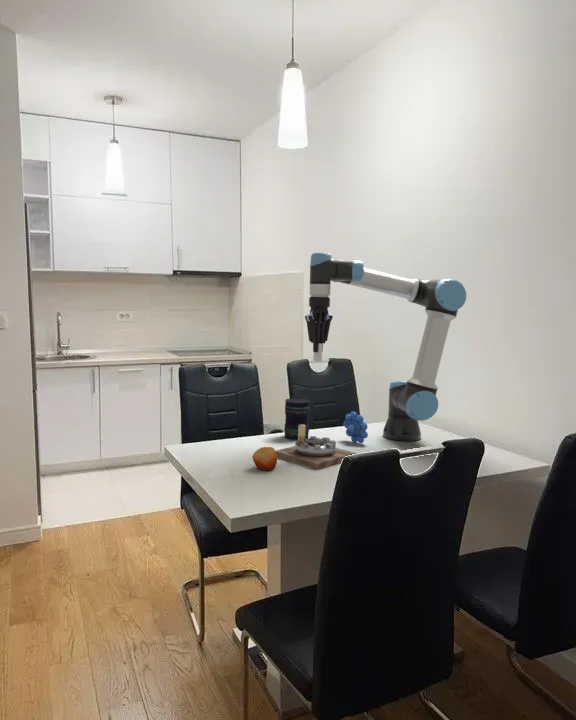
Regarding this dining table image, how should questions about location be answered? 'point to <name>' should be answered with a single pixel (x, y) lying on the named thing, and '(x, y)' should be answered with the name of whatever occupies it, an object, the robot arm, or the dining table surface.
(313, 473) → the dining table surface
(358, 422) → the grapes
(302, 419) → the storage jar
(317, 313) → the robot arm
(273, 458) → the fruit
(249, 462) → the dining table surface
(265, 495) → the dining table surface
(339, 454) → the base plate
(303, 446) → the crank wheel
